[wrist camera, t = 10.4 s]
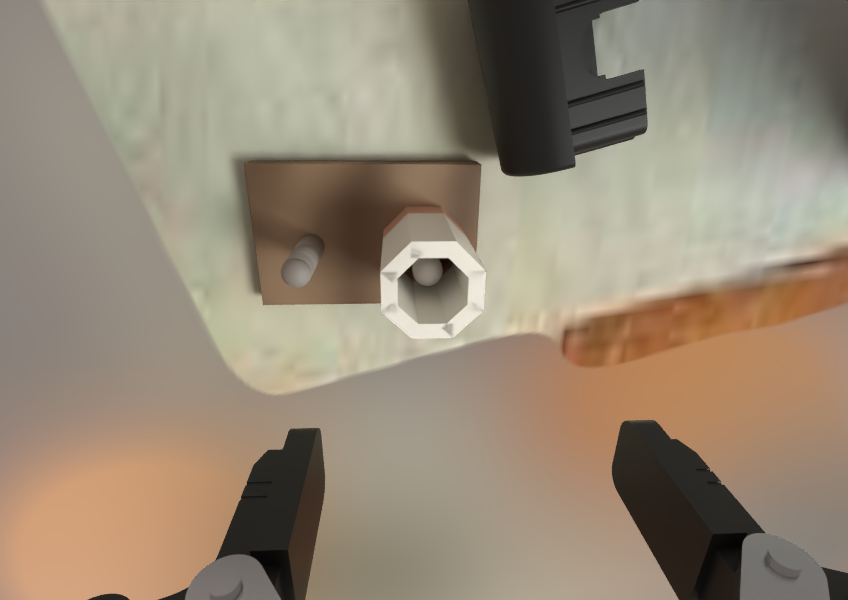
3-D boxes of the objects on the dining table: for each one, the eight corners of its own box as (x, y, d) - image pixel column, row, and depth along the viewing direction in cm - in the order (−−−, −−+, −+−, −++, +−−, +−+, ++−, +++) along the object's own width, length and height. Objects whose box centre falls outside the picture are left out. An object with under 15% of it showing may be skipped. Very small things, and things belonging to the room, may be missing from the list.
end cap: (454, -12, 26) (473, -49, 19) (579, -50, 25) (640, -101, 19) (490, 167, 30) (516, 184, 23) (599, 136, 29) (655, 145, 23)
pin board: (477, 161, 29) (502, 178, 22) (470, 293, 33) (489, 342, 26) (251, 160, 28) (207, 178, 22) (268, 296, 32) (235, 347, 25)
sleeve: (464, 206, 29) (488, 241, 21) (460, 281, 31) (481, 337, 23) (383, 206, 28) (379, 241, 21) (384, 282, 30) (381, 339, 23)
